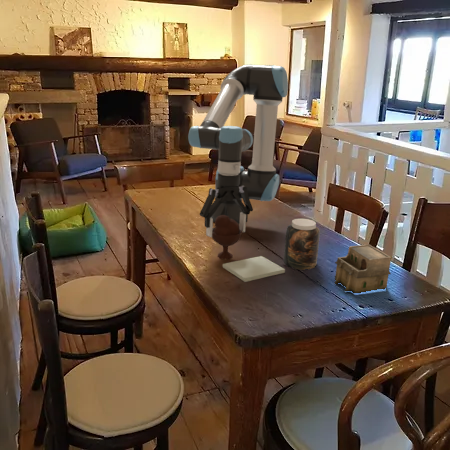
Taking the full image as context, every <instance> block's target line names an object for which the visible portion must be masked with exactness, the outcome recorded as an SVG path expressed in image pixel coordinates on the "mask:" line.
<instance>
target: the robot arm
mask: <svg viewBox="0 0 450 450" xmlns="http://www.w3.org/2000/svg"><path fill="white" fill-rule="evenodd" d="M288 91H289V77H288V72H287V71H286V68H285V67H284V66H281V65H274V64H273V65H270V64H269V65H268V64H267V65H266V64H251V63H250V64H244V65H243V64H242V65H241V66H238V67H236V68H235V69H233V70H232V71H230V72H229V73H228V74H227V75H226V76H225V77H224V79H223V80H222V82H221V84H220V91H219V92H218V95H217V96H216V98H215V99H214V101H213V103H212V105H211V107H210V108H209V109H208V112H207V113H206V116H205V117H204V119H203V120H202V122H201V123H200V125H194V126H191V127H190V128H189V131H188V135H187V137H188V143H189V145H190V146H191V147H192V148H193V147H194V148H198V149H208V150H216V151H217V150H218V160H217V161H218V162H217V163H218V164H217V170H216V172H215V173H216V174H215V178H214V179H215V185H214V186H215V187H214V188H213V187H210V188H209V189H208V195H207V197H206V199H205V201H204V203H203V205H202V208H201V210H200V213H199V216H201V217H202V218H204V227H205V228H206V229H205V230H206V231H205V235H206V237H209V238H212V228H213V223H215V220H216V218H217V217H218V216H220V215H226V216H228V217H229V218H230V219H233V220H235V221H236V222H237V223H238V225H239V229H240V230H241V231H242V233H246V225H247V224H246V223H247V222H248V217H249V215H250V213H251V212H253V211H254V207H253V206H252V203H251V200H254V201H260V202H271V201H273V200H274V198H275V197H276V194H277V191H278V188H279V185H280V175H279V174H278V173H276V172H277V169H276V168H275V167H274V165H273V162H274V156H275V154H274V153H275V143H276V134H277V133H276V132H277V121H278V110H279V106H280V105H281V103H283V98H286V97H287V96H288ZM244 95H245V96H247V95H249V96H251V95H252V96H253V102H255V104H256V108H255V109H256V110H255V122H254V123H255V124H254V132H253V133H254V134H253V133H252V132H250V131H249V130H248V129H246V128H242V127H241V126H236V125H235V126H234V125H225V124H226V122H227V121H228V119H229V117H230V115H231V113H232V111H233V109H234V108H235V106H236V103H237V102H238V100H240V99H242V97H243V96H244ZM252 145H253V146H252ZM251 147H253V148H252V158H251V160H252V161H251V164H250V165H248V167H247V170H245V168H244V166H242V165H241V164H242V163H241V162H242V152H245V151H247V150H249V149H250V148H251Z"/></svg>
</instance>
